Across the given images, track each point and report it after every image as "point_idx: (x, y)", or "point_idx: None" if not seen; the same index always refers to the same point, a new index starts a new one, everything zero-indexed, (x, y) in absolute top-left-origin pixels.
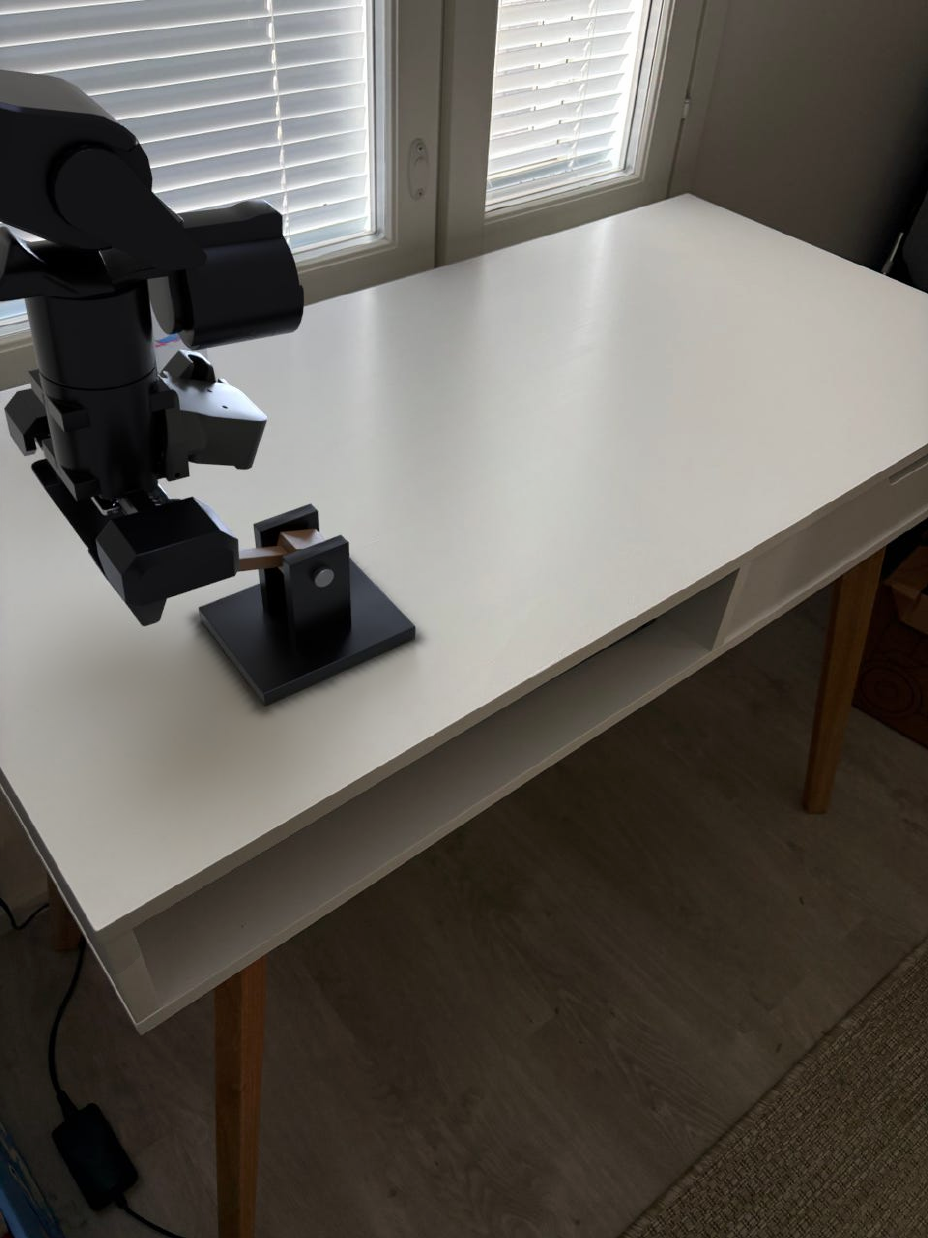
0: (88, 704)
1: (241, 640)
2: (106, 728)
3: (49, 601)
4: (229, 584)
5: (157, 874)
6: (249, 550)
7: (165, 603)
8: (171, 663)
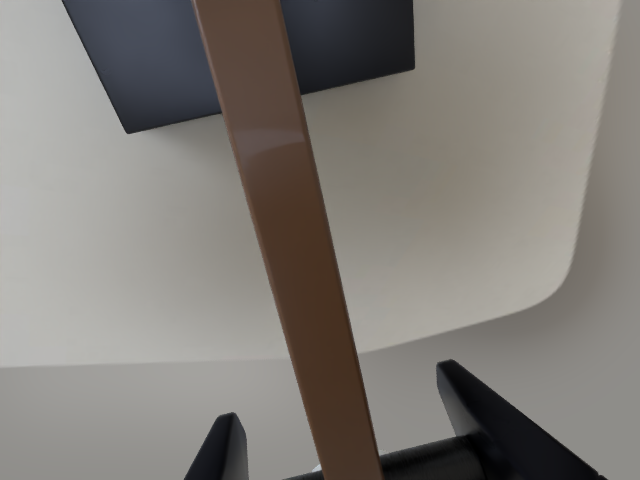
0: None
1: None
2: None
3: (61, 328)
4: (9, 30)
5: (557, 252)
6: (220, 39)
7: (507, 402)
8: None
